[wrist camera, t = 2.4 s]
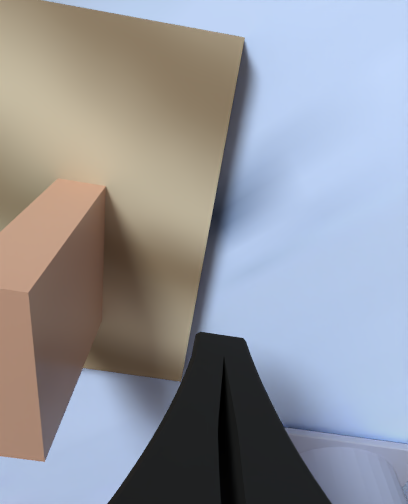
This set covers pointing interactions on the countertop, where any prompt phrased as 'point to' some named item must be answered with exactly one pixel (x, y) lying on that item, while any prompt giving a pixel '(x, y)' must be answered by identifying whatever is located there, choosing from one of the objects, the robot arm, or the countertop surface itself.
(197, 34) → the board
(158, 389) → the countertop surface
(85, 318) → the tile
